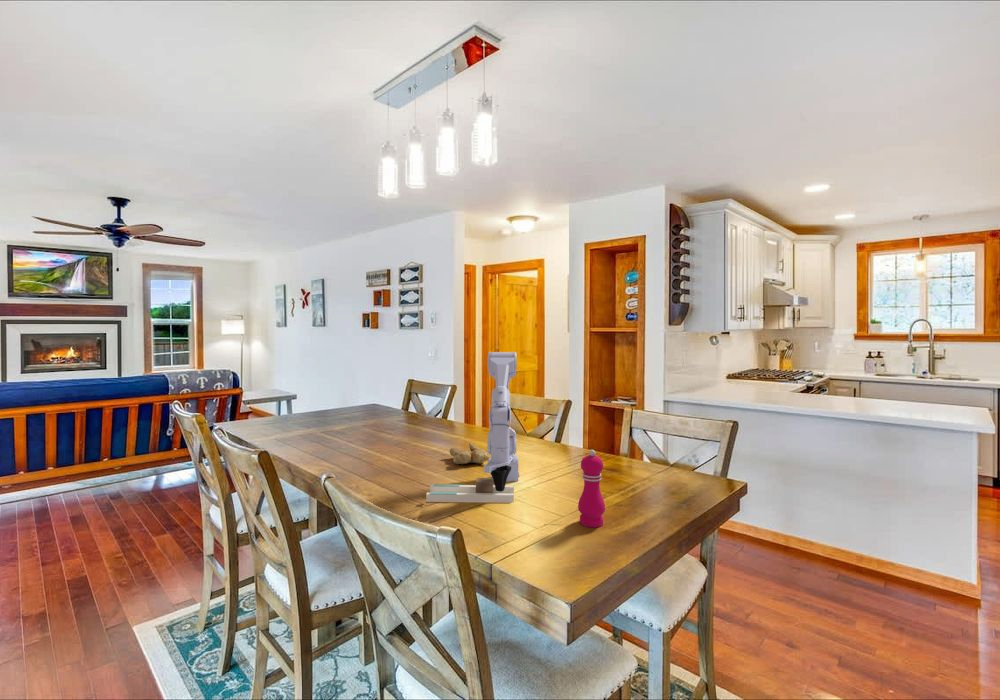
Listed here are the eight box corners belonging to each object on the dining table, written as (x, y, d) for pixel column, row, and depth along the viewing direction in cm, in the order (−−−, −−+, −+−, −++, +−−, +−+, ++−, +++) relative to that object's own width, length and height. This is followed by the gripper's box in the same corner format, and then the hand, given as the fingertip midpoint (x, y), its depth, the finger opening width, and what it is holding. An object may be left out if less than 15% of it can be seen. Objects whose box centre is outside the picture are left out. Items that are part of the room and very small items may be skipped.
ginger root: (490, 465, 186) (485, 444, 186) (449, 475, 186) (443, 454, 186) (492, 455, 202) (487, 436, 202) (454, 465, 202) (449, 445, 202)
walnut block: (493, 493, 156) (493, 478, 156) (492, 499, 151) (492, 483, 151) (476, 493, 156) (476, 477, 156) (475, 499, 151) (475, 483, 151)
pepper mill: (586, 515, 141) (587, 445, 140) (609, 522, 137) (610, 449, 135) (572, 523, 136) (573, 450, 134) (596, 530, 131) (597, 454, 130)
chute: (513, 494, 159) (513, 484, 158) (513, 505, 149) (513, 495, 148) (431, 493, 159) (431, 483, 159) (425, 504, 149) (425, 494, 149)
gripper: (501, 440, 161) (501, 481, 162) (475, 449, 149) (475, 494, 150) (520, 442, 157) (520, 485, 158) (495, 452, 145) (495, 499, 146)
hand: (500, 490), depth 154 cm, fingers closed
